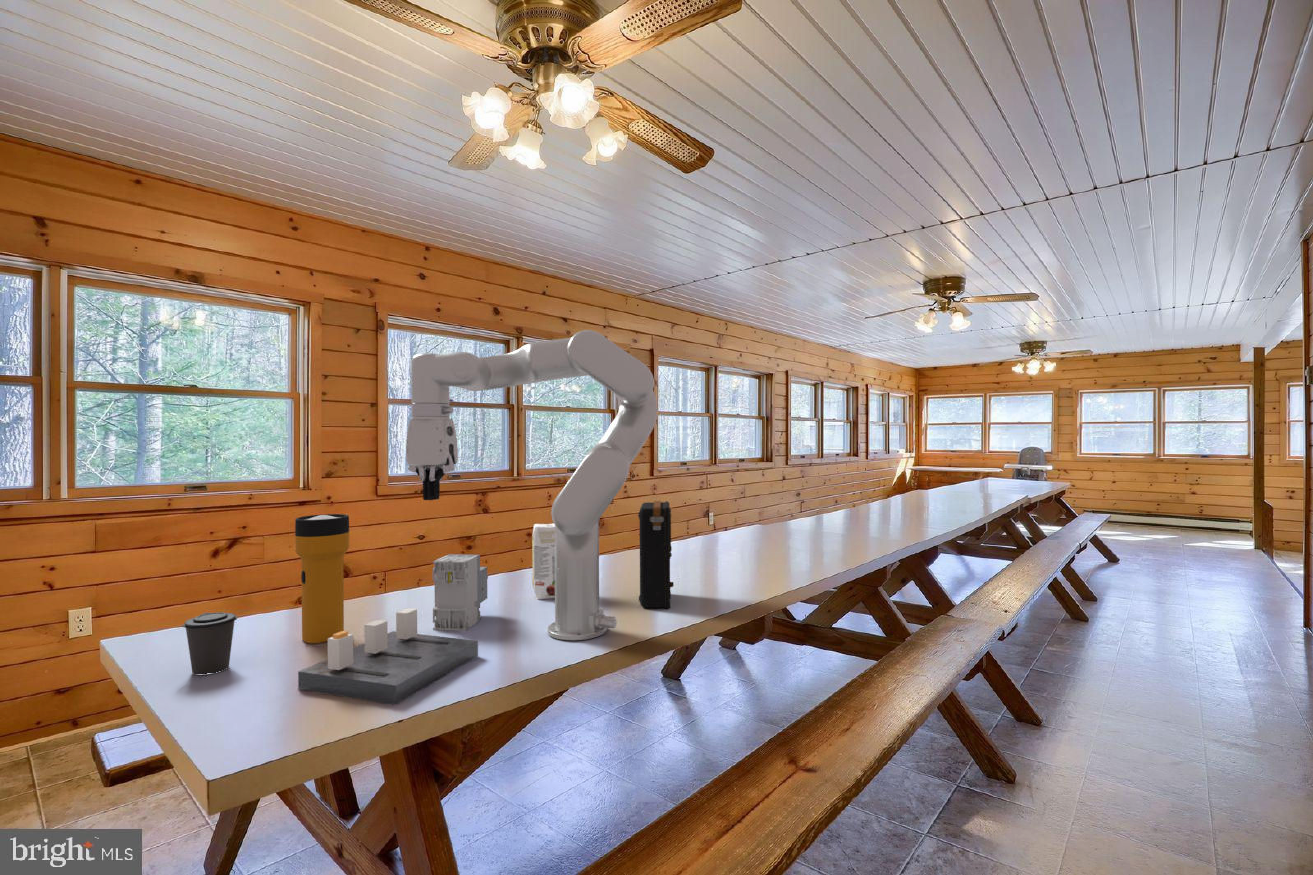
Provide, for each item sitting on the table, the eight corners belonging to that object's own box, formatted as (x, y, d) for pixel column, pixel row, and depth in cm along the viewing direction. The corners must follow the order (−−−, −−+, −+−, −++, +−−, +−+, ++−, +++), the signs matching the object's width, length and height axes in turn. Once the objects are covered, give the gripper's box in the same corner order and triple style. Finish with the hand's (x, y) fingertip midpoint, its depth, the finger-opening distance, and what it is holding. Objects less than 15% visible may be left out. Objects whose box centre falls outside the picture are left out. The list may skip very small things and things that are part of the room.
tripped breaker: (353, 663, 104) (353, 631, 104) (339, 670, 101) (338, 636, 101) (342, 662, 104) (341, 629, 104) (327, 668, 101) (327, 635, 101)
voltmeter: (674, 610, 147) (673, 507, 147) (638, 610, 147) (637, 507, 147) (673, 593, 162) (672, 500, 162) (640, 593, 162) (640, 500, 162)
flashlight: (356, 514, 128) (304, 519, 121) (357, 637, 128) (305, 649, 121) (338, 511, 135) (288, 515, 128) (339, 627, 135) (289, 638, 128)
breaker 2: (417, 634, 119) (417, 609, 119) (406, 639, 116) (406, 613, 116) (407, 633, 120) (407, 608, 120) (396, 638, 117) (396, 612, 117)
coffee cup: (206, 661, 115) (206, 608, 115) (248, 661, 114) (247, 608, 114) (170, 678, 106) (170, 621, 106) (215, 678, 106) (215, 621, 106)
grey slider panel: (477, 656, 116) (477, 640, 116) (396, 704, 95) (395, 684, 95) (392, 646, 122) (392, 630, 122) (298, 689, 101) (298, 670, 101)
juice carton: (567, 598, 158) (567, 525, 158) (534, 600, 156) (533, 527, 156) (563, 591, 165) (563, 521, 165) (531, 593, 163) (531, 523, 163)
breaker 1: (387, 648, 111) (387, 621, 111) (375, 653, 108) (375, 625, 108) (377, 646, 112) (376, 619, 112) (364, 652, 109) (364, 624, 109)
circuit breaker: (490, 611, 146) (489, 549, 146) (465, 630, 132) (465, 561, 132) (460, 611, 147) (459, 549, 147) (432, 629, 133) (432, 561, 133)
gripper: (471, 412, 129) (472, 498, 129) (413, 414, 134) (414, 497, 134) (449, 411, 122) (450, 502, 122) (389, 412, 127) (389, 500, 127)
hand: (431, 499), depth 128 cm, fingers closed
